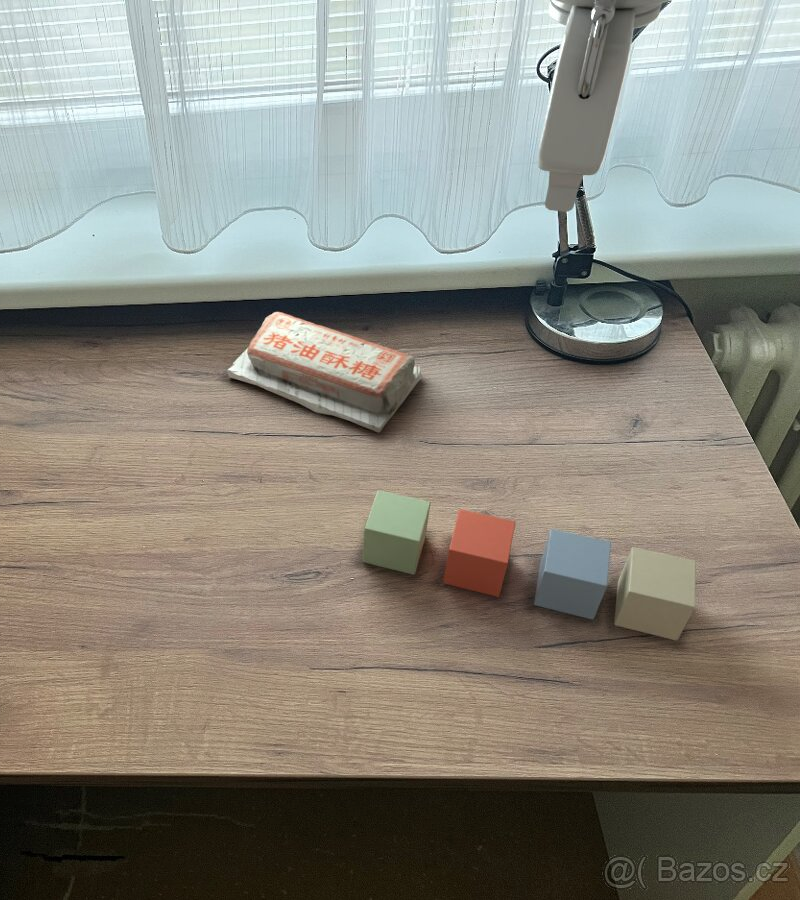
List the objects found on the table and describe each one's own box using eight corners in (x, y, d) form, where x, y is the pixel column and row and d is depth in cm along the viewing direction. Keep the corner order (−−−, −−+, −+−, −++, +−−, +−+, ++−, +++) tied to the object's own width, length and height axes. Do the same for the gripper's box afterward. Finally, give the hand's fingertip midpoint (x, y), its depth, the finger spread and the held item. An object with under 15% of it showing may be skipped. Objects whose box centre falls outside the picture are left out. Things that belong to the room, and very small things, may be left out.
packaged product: (428, 342, 87) (382, 400, 82) (423, 379, 90) (379, 437, 85) (273, 292, 95) (222, 343, 90) (274, 328, 99) (226, 378, 93)
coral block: (506, 555, 74) (515, 521, 71) (498, 597, 71) (507, 563, 68) (452, 542, 75) (459, 508, 72) (442, 583, 72) (449, 549, 69)
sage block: (425, 535, 76) (431, 501, 73) (414, 575, 73) (419, 541, 70) (374, 523, 77) (377, 489, 74) (361, 562, 75) (364, 528, 71)
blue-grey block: (597, 576, 72) (611, 541, 68) (593, 620, 69) (607, 586, 66) (540, 562, 73) (550, 528, 70) (533, 605, 70) (544, 571, 67)
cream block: (678, 595, 70) (696, 560, 66) (677, 641, 67) (695, 607, 64) (617, 580, 71) (632, 546, 68) (613, 625, 68) (628, 591, 65)
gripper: (670, 20, 44) (603, 258, 53) (679, -97, 56) (624, 112, 66) (537, 14, 46) (496, 244, 55) (575, -97, 58) (536, 105, 68)
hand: (566, 171), depth 61 cm, fingers open, 8 cm apart
